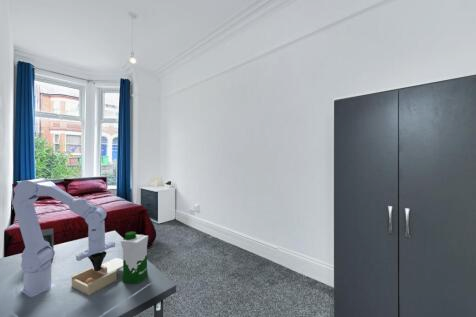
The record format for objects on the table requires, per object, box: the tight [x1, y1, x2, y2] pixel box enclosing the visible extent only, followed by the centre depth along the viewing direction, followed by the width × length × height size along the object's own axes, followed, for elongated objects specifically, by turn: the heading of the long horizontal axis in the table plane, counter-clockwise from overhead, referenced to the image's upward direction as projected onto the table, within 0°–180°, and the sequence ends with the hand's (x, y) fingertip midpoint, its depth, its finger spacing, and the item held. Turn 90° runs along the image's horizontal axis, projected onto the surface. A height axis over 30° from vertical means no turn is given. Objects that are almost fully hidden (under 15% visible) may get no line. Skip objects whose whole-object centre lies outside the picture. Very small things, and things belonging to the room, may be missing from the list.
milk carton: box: [120, 231, 149, 285], centre depth 92 cm, size 9×9×20 cm
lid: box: [93, 257, 123, 275], centre depth 95 cm, size 10×11×3 cm
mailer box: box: [71, 266, 118, 296], centre depth 89 cm, size 12×11×5 cm
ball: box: [85, 278, 94, 284], centre depth 87 cm, size 3×3×3 cm
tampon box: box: [41, 228, 55, 264], centre depth 108 cm, size 11×9×15 cm
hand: (97, 270), depth 90 cm, fingers closed
